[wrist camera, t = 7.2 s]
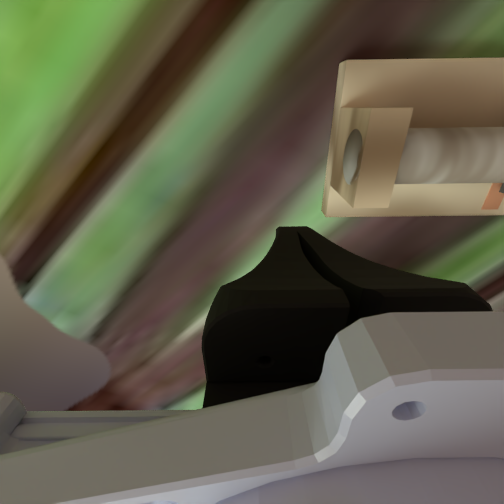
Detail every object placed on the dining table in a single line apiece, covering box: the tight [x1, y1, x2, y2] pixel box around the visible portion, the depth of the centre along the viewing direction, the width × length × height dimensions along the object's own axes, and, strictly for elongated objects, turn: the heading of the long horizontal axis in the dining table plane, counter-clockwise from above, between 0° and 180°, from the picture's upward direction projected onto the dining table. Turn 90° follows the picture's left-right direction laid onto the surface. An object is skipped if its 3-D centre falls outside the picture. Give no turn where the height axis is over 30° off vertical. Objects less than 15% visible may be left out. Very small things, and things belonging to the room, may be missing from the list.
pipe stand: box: [321, 58, 504, 217], centre depth 16 cm, size 10×18×7 cm, turn 91°
